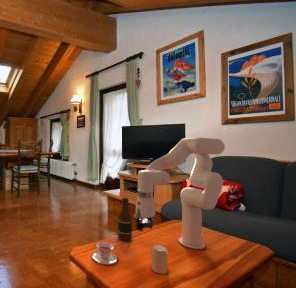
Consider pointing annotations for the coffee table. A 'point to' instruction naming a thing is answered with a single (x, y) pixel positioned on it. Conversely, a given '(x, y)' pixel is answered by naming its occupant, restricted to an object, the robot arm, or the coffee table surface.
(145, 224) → the jar lid
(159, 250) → the jar
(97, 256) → the teacup
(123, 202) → the beer bottle
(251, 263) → the coffee table surface
